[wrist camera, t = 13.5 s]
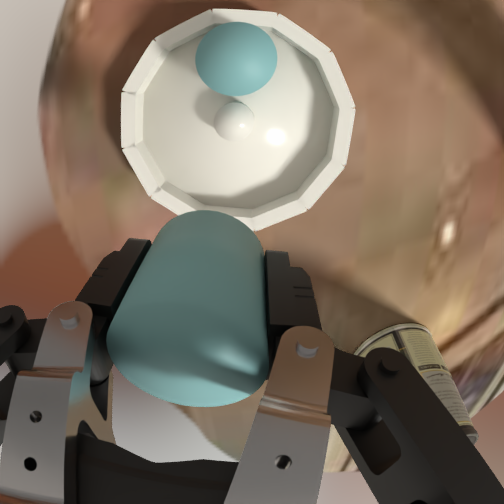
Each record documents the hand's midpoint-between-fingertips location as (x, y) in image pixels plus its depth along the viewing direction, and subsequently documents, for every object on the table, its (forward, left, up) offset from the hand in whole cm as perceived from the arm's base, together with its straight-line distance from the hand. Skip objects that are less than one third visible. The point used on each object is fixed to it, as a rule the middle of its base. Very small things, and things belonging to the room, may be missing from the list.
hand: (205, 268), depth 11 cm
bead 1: (0, 0, 0) cm, 0 cm away
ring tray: (0, -4, -12) cm, 13 cm away
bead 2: (0, -7, -12) cm, 14 cm away
